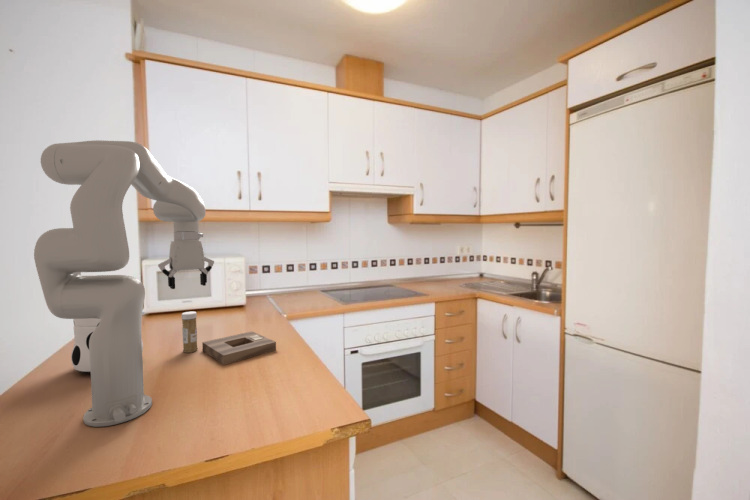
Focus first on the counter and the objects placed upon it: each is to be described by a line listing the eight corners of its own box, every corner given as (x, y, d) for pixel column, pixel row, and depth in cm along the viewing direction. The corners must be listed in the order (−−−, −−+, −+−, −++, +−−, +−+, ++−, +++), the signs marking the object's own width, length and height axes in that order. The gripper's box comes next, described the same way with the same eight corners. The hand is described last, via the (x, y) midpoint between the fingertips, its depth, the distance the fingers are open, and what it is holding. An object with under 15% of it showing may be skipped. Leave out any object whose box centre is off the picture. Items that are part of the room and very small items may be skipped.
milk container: (86, 360, 110) (84, 305, 109) (149, 353, 116) (147, 301, 115) (59, 382, 94) (56, 318, 93) (134, 373, 100) (132, 312, 99)
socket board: (276, 350, 119) (275, 341, 119) (223, 364, 106) (223, 354, 106) (252, 338, 132) (251, 330, 132) (202, 350, 119) (202, 341, 119)
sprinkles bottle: (198, 351, 118) (197, 312, 117) (183, 354, 116) (182, 314, 115) (196, 347, 122) (195, 310, 121) (182, 350, 120) (181, 312, 119)
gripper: (208, 236, 125) (210, 282, 126) (154, 237, 113) (156, 288, 114) (217, 236, 120) (218, 285, 121) (160, 237, 108) (162, 291, 109)
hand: (188, 286), depth 118 cm, fingers open, 9 cm apart
